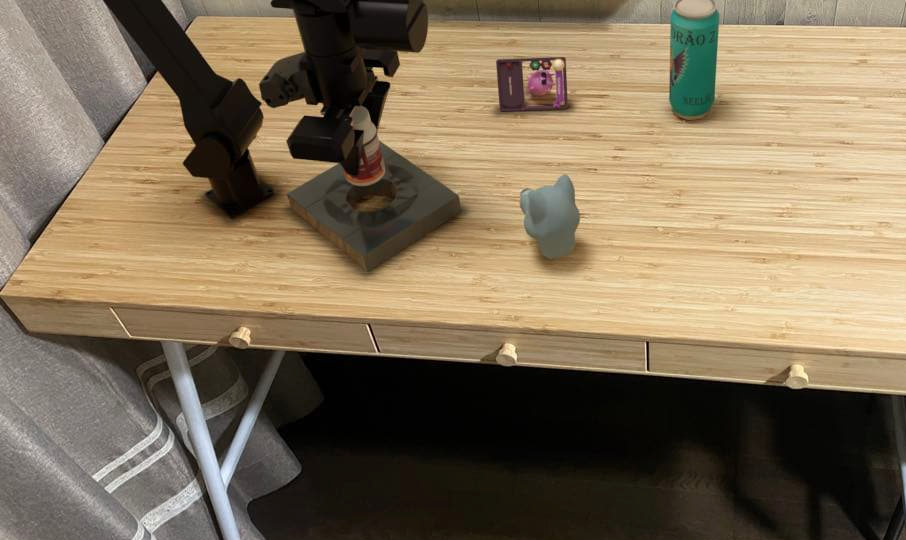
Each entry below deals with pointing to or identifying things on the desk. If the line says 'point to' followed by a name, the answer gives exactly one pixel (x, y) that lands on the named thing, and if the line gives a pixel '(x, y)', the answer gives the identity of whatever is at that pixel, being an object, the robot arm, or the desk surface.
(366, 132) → the pill bottle
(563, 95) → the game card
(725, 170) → the desk surface
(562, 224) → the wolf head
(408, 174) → the grey square slab
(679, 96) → the beverage can
